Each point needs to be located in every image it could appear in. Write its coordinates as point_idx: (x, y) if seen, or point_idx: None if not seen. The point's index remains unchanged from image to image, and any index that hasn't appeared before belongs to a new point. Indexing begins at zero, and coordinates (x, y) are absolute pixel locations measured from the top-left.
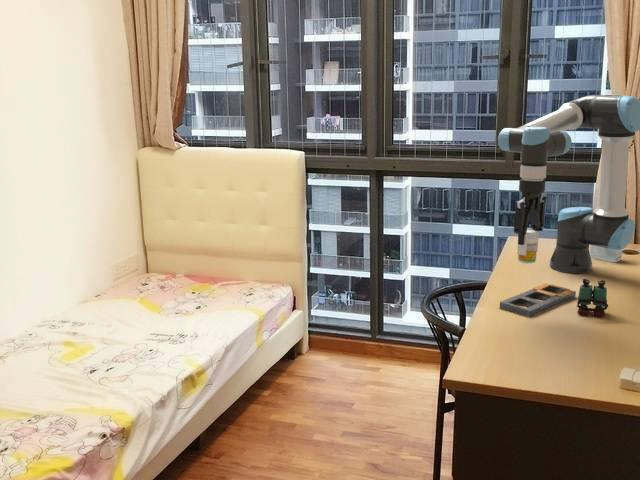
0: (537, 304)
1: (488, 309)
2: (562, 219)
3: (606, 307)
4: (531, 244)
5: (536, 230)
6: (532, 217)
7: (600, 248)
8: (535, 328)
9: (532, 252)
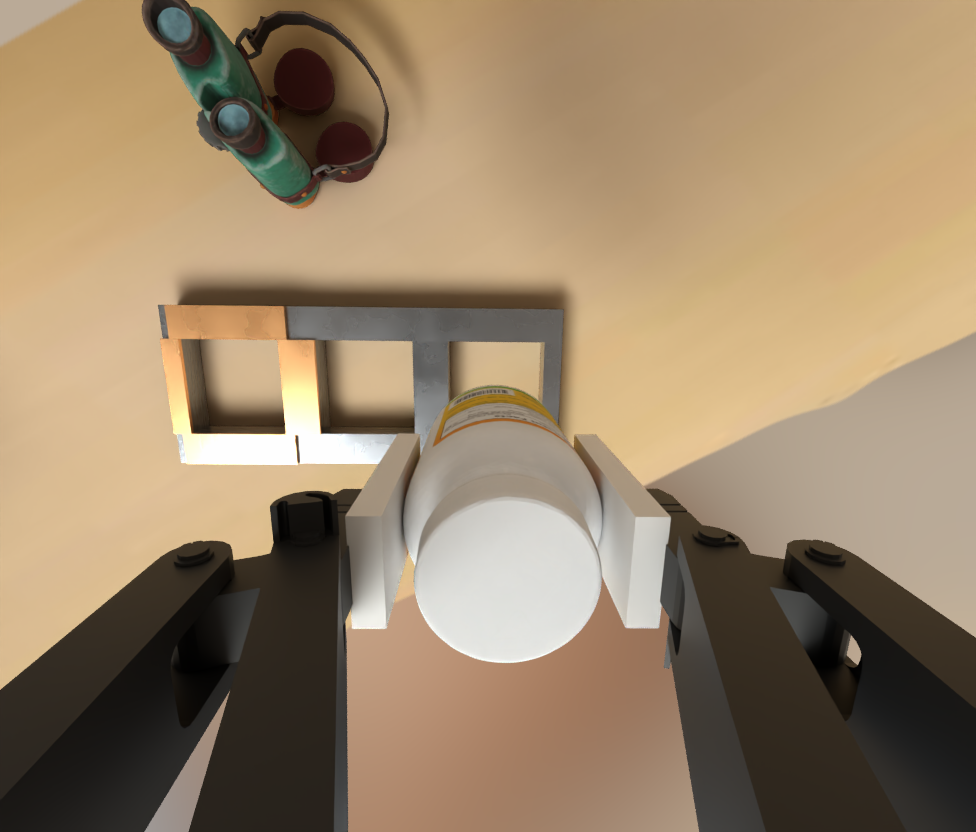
0: (463, 334)
1: None
2: None
3: (291, 15)
4: (559, 438)
5: (348, 553)
6: (345, 796)
7: None
8: (658, 218)
9: (533, 407)
